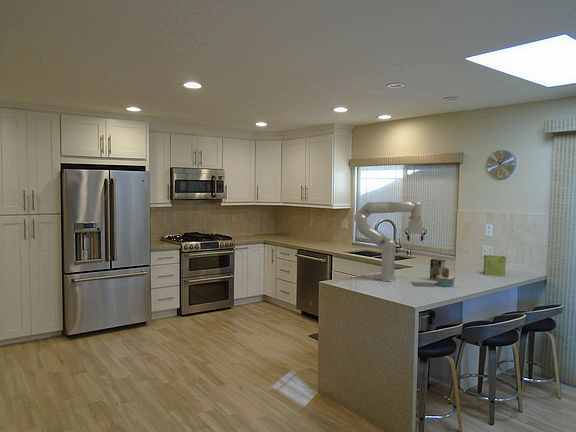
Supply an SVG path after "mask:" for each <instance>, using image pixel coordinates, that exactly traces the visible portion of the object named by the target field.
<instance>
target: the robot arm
mask: <svg viewBox="0 0 576 432" xmlns="http://www.w3.org/2000/svg"><path fill="white" fill-rule="evenodd" d="M392 213H393V214H394V213H395V214H396V213H410V216H408V219H409V222H408V227H407V228H404V229H403V232H404V234H406V240H407V242H410V238H411V237H410V235H411V234H415V235H416V234H420V241H421V242H423V241H424V236H425V235H426V234H427V232H428V229H426V228H425V227H424V225H423V220H422V203H421V201H412V202H411V201H400V202H397V201H396V202H395V201H393V202H392V201H374V202H373V201H369V202H366V203H365V204H364V205H363V206H362V207H361V208H360V209H359V210H358V211H357V212H356V213H355V214H354V216H353V220H354V222H355V223H356V229H357V230H358V232H359V233H360V234H361V235H363V236H364V237H366V238H367V239H368V240H369V241H370V242H371V243H373V244H375V245H376V246H378V247H379V248H380V249H382V252H381V272H380V273H379V274H374V277H375V278H378V280H379V281H382V282H395V281H397V278H395V260H396V259H395V258H396V257H395V256H396V255H395V254H396V248H397V246H396V242H395V241H394V239H391V238H389V237H387V236H386V235H385V234H383V233H381V232H380V231H379V230H376V229H375V228H373V227H372V226H371V225H369V224H368V218H369V217H370V216H371V215H372V214H392ZM407 231H408V232H407Z"/></svg>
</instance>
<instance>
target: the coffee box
mask: <svg viewBox="0 0 576 432" xmlns="http://www.w3.org/2000/svg"><path fill="white" fill-rule="evenodd" d="M429 266H430V267H429V268H430V269H429V281H431V280H432V281H436V282H437V278H436V275H442V269H443V268H446V260H445V259H438V258H431V259H430V264H429Z"/></svg>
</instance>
